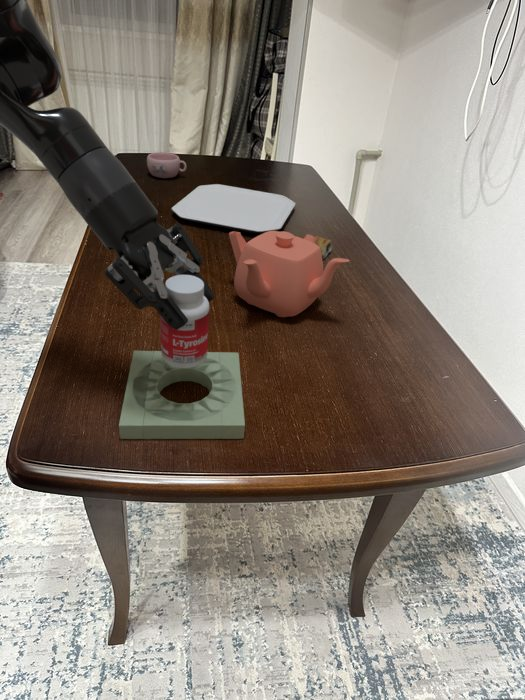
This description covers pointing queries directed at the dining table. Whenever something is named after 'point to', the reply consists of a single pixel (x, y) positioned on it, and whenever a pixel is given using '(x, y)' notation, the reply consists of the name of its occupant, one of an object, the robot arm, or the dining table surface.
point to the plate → (235, 208)
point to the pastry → (323, 245)
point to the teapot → (281, 271)
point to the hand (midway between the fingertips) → (196, 312)
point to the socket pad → (183, 418)
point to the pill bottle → (191, 338)
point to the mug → (164, 164)
